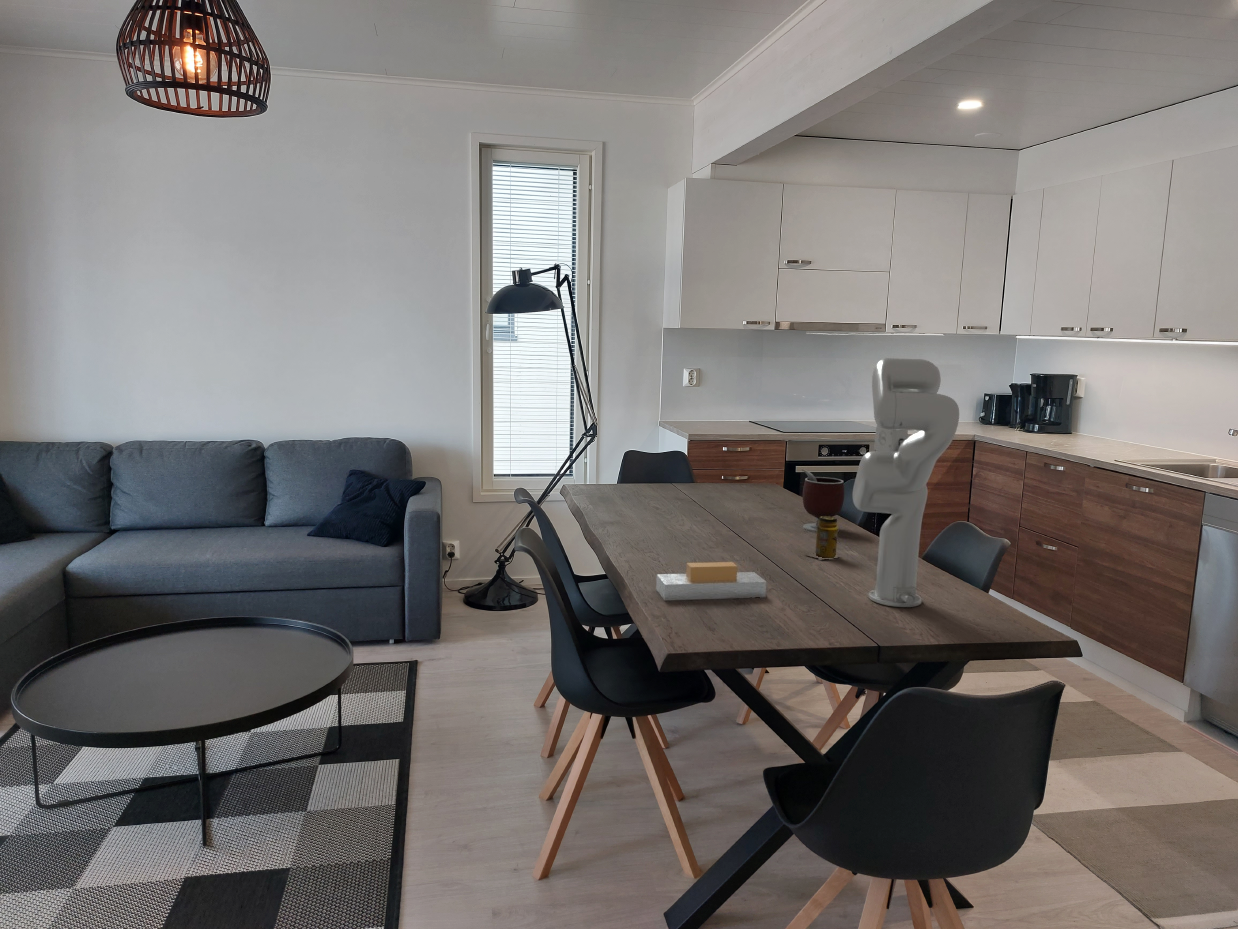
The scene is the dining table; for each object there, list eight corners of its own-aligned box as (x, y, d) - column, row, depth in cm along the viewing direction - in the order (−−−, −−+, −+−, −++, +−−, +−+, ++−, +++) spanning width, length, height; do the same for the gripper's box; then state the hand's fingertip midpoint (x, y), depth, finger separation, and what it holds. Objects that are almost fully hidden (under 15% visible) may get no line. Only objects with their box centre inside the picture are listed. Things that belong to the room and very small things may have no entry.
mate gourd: (849, 529, 294) (853, 472, 291) (829, 535, 284) (833, 476, 281) (809, 522, 304) (812, 466, 301) (788, 527, 294) (792, 470, 291)
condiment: (842, 558, 254) (844, 518, 253) (822, 561, 250) (824, 521, 248) (823, 552, 260) (826, 514, 259) (804, 555, 256) (806, 516, 254)
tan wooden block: (736, 593, 214) (737, 566, 213) (689, 594, 212) (690, 567, 211) (731, 588, 218) (732, 562, 217) (685, 589, 215) (686, 563, 214)
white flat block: (765, 597, 213) (766, 581, 212) (664, 600, 208) (665, 584, 207) (753, 586, 221) (754, 572, 221) (656, 589, 217) (656, 574, 216)
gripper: (866, 409, 237) (861, 469, 240) (897, 414, 220) (892, 480, 223) (890, 409, 239) (886, 469, 241) (923, 415, 222) (918, 479, 224)
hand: (889, 474), depth 232 cm, fingers open, 9 cm apart
